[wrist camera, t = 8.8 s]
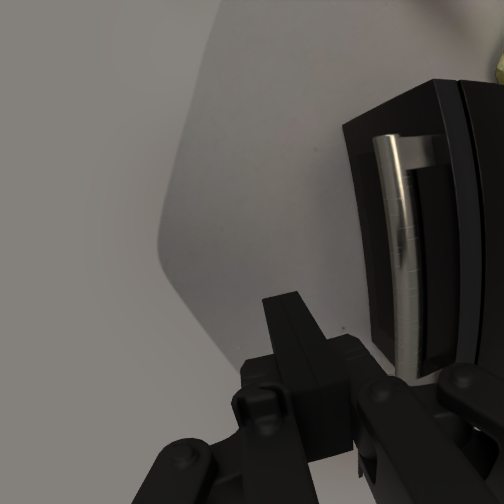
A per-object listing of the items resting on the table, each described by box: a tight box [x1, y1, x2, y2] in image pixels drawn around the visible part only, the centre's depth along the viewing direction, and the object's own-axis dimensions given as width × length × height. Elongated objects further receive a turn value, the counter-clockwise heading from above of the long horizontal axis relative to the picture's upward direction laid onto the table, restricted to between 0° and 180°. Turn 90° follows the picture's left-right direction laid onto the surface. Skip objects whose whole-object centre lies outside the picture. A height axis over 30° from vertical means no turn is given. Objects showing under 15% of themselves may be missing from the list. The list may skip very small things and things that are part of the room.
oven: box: [456, 80, 504, 378], centre depth 20 cm, size 16×20×14 cm
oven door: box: [342, 79, 482, 386], centre depth 20 cm, size 5×20×14 cm, turn 12°
